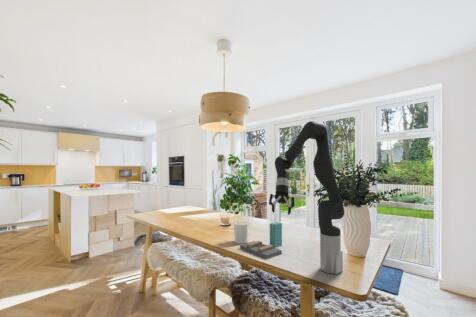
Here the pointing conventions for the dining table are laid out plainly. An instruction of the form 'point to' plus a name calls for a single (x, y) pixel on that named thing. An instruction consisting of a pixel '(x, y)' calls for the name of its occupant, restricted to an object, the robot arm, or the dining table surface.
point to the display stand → (261, 249)
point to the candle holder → (241, 232)
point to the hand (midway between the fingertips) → (281, 213)
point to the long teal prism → (276, 234)
